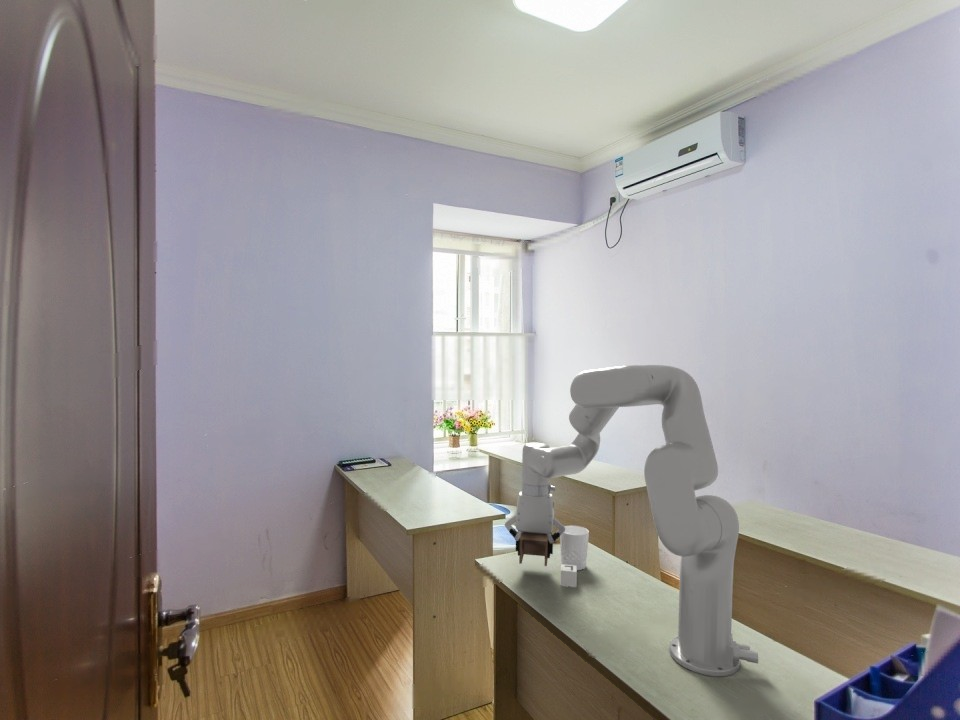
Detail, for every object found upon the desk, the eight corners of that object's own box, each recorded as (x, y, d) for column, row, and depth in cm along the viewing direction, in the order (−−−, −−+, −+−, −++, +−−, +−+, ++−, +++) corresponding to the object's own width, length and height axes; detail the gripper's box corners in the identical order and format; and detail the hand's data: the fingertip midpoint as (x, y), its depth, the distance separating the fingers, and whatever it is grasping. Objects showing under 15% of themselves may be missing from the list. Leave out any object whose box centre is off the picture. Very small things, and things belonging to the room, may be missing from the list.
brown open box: (547, 555, 145) (548, 530, 145) (546, 566, 138) (547, 539, 138) (521, 553, 147) (522, 528, 146) (519, 563, 139) (519, 537, 139)
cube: (576, 580, 138) (576, 565, 138) (576, 587, 134) (576, 571, 134) (560, 579, 138) (561, 564, 138) (560, 586, 134) (560, 570, 134)
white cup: (590, 571, 143) (591, 535, 143) (561, 571, 143) (562, 534, 143) (584, 560, 151) (585, 525, 151) (557, 560, 151) (557, 525, 151)
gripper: (568, 488, 144) (566, 552, 145) (505, 483, 147) (503, 547, 147) (568, 495, 137) (566, 563, 137) (501, 490, 140) (500, 557, 140)
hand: (534, 554), depth 142 cm, fingers closed on brown open box, 7 cm apart
